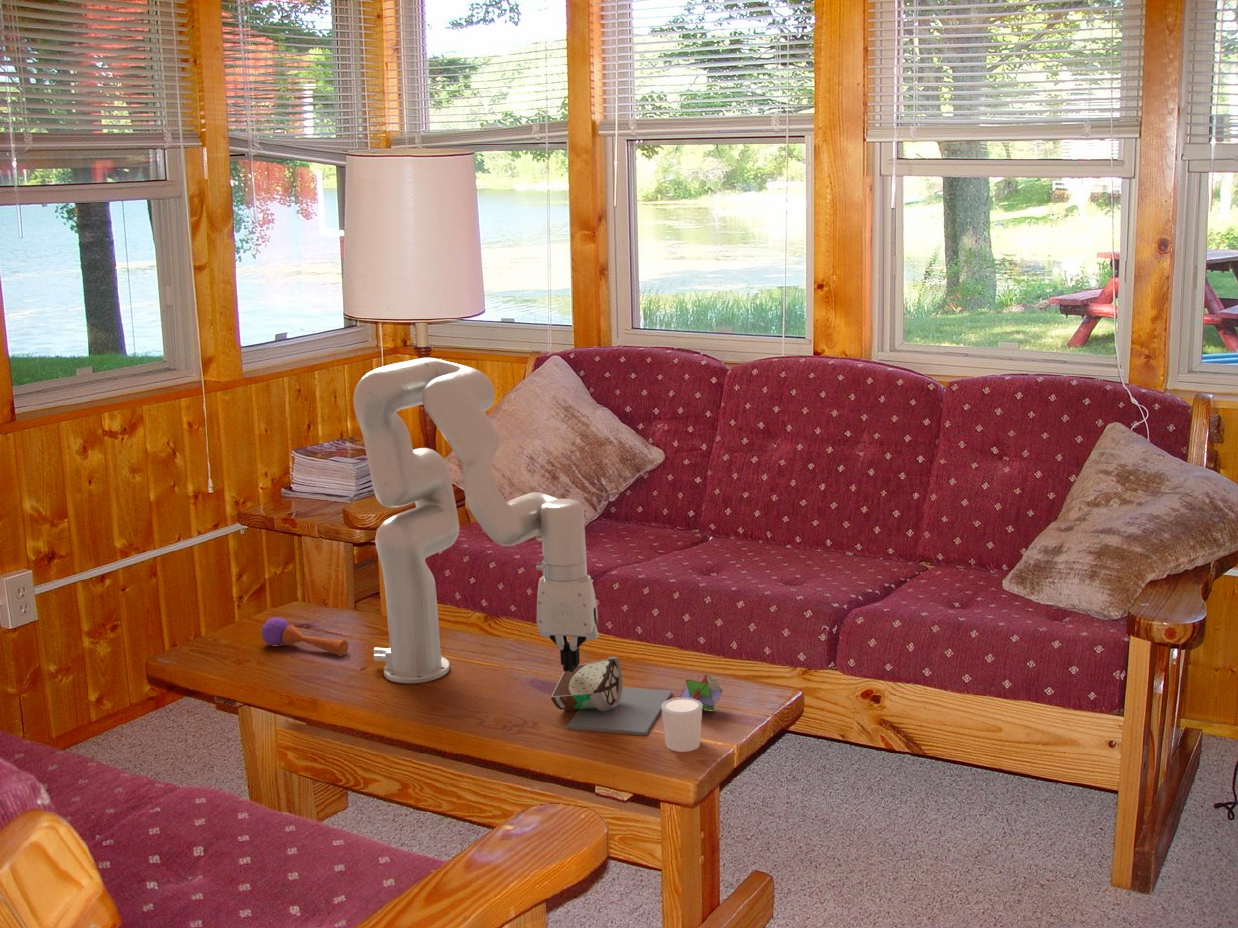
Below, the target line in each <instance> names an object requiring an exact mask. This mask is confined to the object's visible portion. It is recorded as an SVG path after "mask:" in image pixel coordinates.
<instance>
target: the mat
mask: <svg viewBox="0 0 1238 928" xmlns="http://www.w3.org/2000/svg"><path fill="white" fill-rule="evenodd" d="M672 694H673V691H672V690H667V689H666V690H664V689H653V688H652V689H650V688H639V687H637V688H636V687H626V686H625V687H624V686H622V695H621V699H620V702H619V703H618V705H617V706H615V707H614V708H612V709H609V710H607V711H600V710H598V709H597V708H587V709H578V711H577V712H576V713H575V714H574V716H573V717H572V718H571V720H569V722H568V723H567V724H566V729H567V730H568V729H569V730H579V731H590V732H601V733H602V732H603V733H610V734H611V733H612V734H622V735H633V736H634V735H635V736H644V737H645V736H646V737H647V734H648V733H649V731H650V730H651V728H652V727H653V724H655V722H656V720H657V718H658V717H659V716H660V713H662V709H661V706H662V704H663V703H664V702H665V701H667V700H670V699H671V696H672Z"/></svg>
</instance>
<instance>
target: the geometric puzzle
mask: <svg viewBox="0 0 1238 928" xmlns="http://www.w3.org/2000/svg"><path fill="white" fill-rule="evenodd" d="M696 677H698V678H697V680H698V679H700V677H699V675H698V676H696ZM702 677H703V678H702V680H701V681H699V680H698V681H697V680H691V679H692V678H689V679H688V678H687V679H685V683H686V687H685V689H684V686H683V687H682V689H684V690H683V691H682V693H681V694H679V695H680V696H679V698H692V699H696V700H698V701H700V702H701V703H702V704H703V705H702V709H707V711H706V710H704V712H702V715H704V713H706V712H709V711H708V710H713V711H715V705H716V703H718V701H719V700H720V698H721V696H722V693H723V691H724V690H723V689H722V688H721V685H720V684H719V682H718V680H717V679H716V678H713V677H712V676H710V675H708V674H707V673H704V674H703V675H702ZM717 706H718V705H716V708H717Z"/></svg>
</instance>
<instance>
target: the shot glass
mask: <svg viewBox="0 0 1238 928" xmlns="http://www.w3.org/2000/svg"><path fill="white" fill-rule="evenodd" d="M702 705H703V704H702V703H701V702H700V701H698V700H696V699H692V698H680V697H674V698H669V700H667V701H665V702H664V703H663V704H662V706H661V709H662V711H661V715H662V723H663V731H664V740H665V745H666V747H667V748H668V749H669V750H671V751H674V752H678V753H680V752H681V753H687V752H692V751H694V750H697V749H698V748H699V747H700V746H701V733H702V732H701V730H702V715H703V714H702V713H703V710H702Z"/></svg>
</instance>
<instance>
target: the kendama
mask: <svg viewBox="0 0 1238 928" xmlns="http://www.w3.org/2000/svg"><path fill="white" fill-rule="evenodd" d="M261 638H262V640H263V641H264V642H265V643H266V644H267V645H268V644H270V645H281V644H284V645H285V646H290V645H293V644H297V643H301V642H303V643H306V644H309V645H311V646H314V647H316V648H318V649H320V650H323V651H325V652H328V653H331V654H333V655H335V654H336V656H338V655H339V656H338V657H340V655H342V654H344V653H346V652H347V653H348V650H349V643H348V641H347V640H345V639H335V638H327V637H326V638H325V637H317V636H316V637H315V636H307V635H303V634H302V632H301V631H299V630H298V629H297V628H296V627H295V626H294V625H293V624H290V623H289V622H288V621H287V620H286V619H285V618H281V617H276V616H275V617H271V618H269V619H267V621H266V622H265V623H264V624H263V625H262V627H261ZM270 645H269V646H270ZM347 653H346V654H347Z"/></svg>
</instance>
